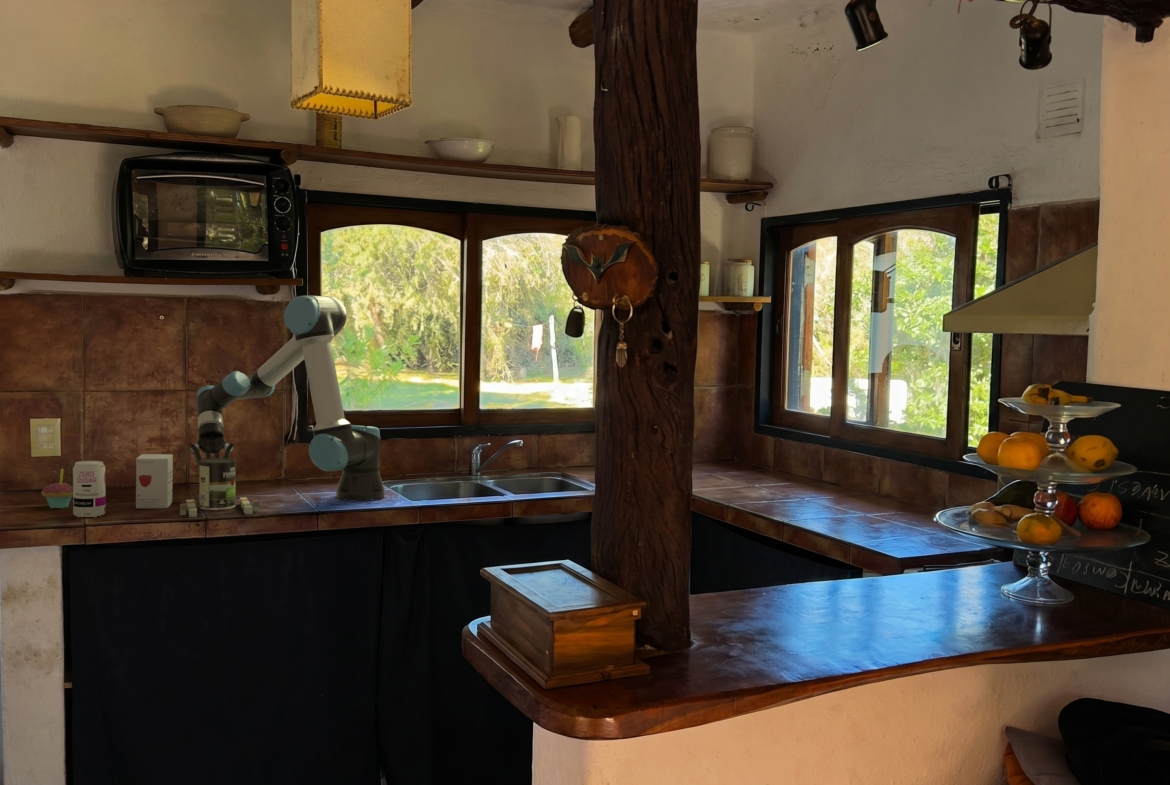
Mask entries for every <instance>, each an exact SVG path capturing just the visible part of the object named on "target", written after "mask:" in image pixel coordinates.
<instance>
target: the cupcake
mask: <svg viewBox="0 0 1170 785" xmlns="http://www.w3.org/2000/svg"><path fill="white" fill-rule="evenodd" d="M63 478H64V467H63V466H62V467H61V469H60V477H59V482H55V483H50V484H48V485H46V486H45V487H43V488H42V489H41V492H40V494H41V496H42V497H44V498H45V499H46V501H47V504H48V506H49V508H50V509H53V508H60V509H65V507H66V508H68V507H69V505H70V501H71V499H72V498H73V485H71V484H69V483H68V482H67V483H66V482H63Z"/></svg>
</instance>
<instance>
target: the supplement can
mask: <svg viewBox="0 0 1170 785" xmlns="http://www.w3.org/2000/svg"><path fill="white" fill-rule="evenodd" d="M72 487H73V496H72V514H73V515H74V517H76V516H77V517H76V518H79V517H94V518H98V517H97V516H100V517H102V516H101V515H103V516H104V514H106V510H107V509H106V506H107V505H106V503H107V502H106V497H107V496H106V465H105V464H104V461H101V460H82V461H81V460H80V461H76V462H75V464H74V466H73V468H72Z"/></svg>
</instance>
